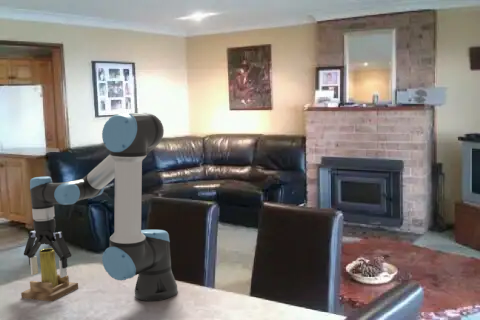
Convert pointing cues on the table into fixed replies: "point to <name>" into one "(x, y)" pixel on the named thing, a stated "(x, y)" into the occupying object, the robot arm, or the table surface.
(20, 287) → the table surface
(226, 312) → the table surface
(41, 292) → the holder
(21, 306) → the table surface
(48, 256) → the vase
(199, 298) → the table surface
